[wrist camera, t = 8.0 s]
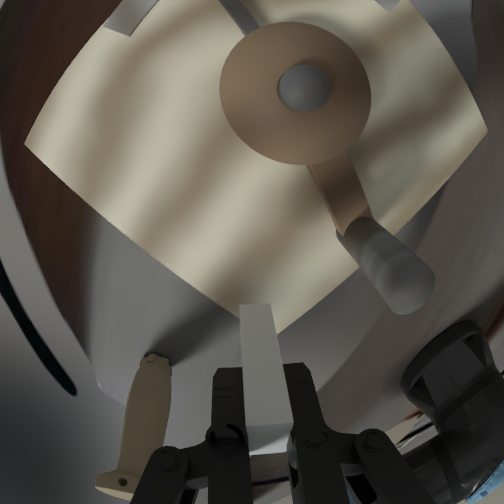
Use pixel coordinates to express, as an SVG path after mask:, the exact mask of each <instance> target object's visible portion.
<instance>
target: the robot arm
mask: <svg viewBox="0 0 504 504" xmlns="http://www.w3.org/2000/svg"><path fill="white" fill-rule="evenodd" d="M239 307H240V332H241V354H242V367H236V368H218V369H217V371H216V373H215V375H214V376H213V390H212V415H211V426H210V428H209V429H208V430H207V432H206V436H205V438H206V440H205V441H204V442H202V443H201V444H198V445H196V446H192V447H188V448H184V449H178V448H176V447H172V446H165V447H160V448H158V449H156V450H155V451H154V452H153V453H152V455H151V456H150V458H149V460H148V463H147V465H146V467H145V470H144V472H143V474H142V476H141V479H140V481H139V483H138V486H137V488H136V490H135V492H134V495H133V497H132V499H131V502H130V504H195V501H196V498H197V495H198V492H199V489H202V488H206V487H208V504H253V494H252V482H251V470H250V457H249V455H255V454H269V453H280V452H286V450H287V453H288V461H287V464H286V470H288V473H289V479H290V486H291V492H292V499H293V504H457V503H459V502H460V501H462V500H464V499H465V498H466V499H465V501H466V502H468V503H469V504H472V503H475V502H477V501H479V500H480V499H482V498H483V497H485V496H486V495H487V494H488V493H490V492H492V491H493V490H494V489H496V488H497V487H498V486H499V485H500V484H502V482H504V378H503V376H502V375H501V374H500V372H499V371H498V369H497V368H496V366H495V363H494V360H493V356H492V353H491V350H490V347H489V344H488V341H487V338H486V335H485V333H484V331H483V330H482V329H481V328H480V327H479V325H478V324H477V323H476V322H474V321H464V322H461V323H459V324H457V325H455V326H453V327H451V328H450V329H448V330H447V331H445V332H444V333H442V334H441V335H440V336H438V337H437V338H436V339H435V340H433V341H432V342H431V343H430V344H429V345H428V346H427V347H426V348H424V349H423V350H422V351H421V352H420V354H419V355H418V356H417V357H416V358H415V359H414V360H413V361H412V363H411V364H410V365H409V367H408V368H407V370H406V371H405V373H404V375H403V377H402V380H401V387H402V389H403V391H404V393H405V395H406V397H407V398H408V400H409V401H411V402H412V403H413V404H414V405H415V406H416V407H417V408H419V409H420V410H421V411H422V412H423V413H424V414H425V415H426V416H428V417H429V418H430V419H431V420H432V422H433V424H434V426H435V428H436V430H437V432H438V435H436V436H435V437H433V438H432V439H430V440H428V441H426V442H425V443H423V444H421V445H420V446H418V447H416V448H414V449H413V450H411V451H409V452H407V453H405V454H403V455H401V454H400V452H399V451H398V450H397V448H396V447H395V445H394V444H393V443H392V441H391V440H390V439H389V437H388V436H387V435H386V434H385V433H384V432H383V431H381V430H379V429H371V428H370V429H367V430H364V431H362V432H361V433H360V434H347V433H339V432H336V431H334V430H332V429H331V428H329V427H328V426H327V425H326V423H325V421H324V419H323V415H322V412H321V408H320V404H319V401H318V397H317V394H316V391H315V386H314V383H313V380H312V376H311V372H310V370H309V369H308V368H307V367H306V365H305V364H304V363H303V362H301V363H291V364H282V360H281V354H280V349H279V344H278V339H277V334H276V329H275V324H274V319H273V314H272V309H271V304H270V303H265V304H241V305H239Z"/></svg>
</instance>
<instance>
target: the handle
mask: <svg viewBox="0 0 504 504" xmlns="http://www.w3.org/2000/svg"><path fill="white" fill-rule="evenodd" d="M171 376H172V367H171V365H169V360H168V359H167V358H164V357H160V356H158V355H156V354H149V356H148V357H145V358H142V360H141V362H140V364H139V369H138V371H137V373H136V375H135V377H134V380H133V382H132V385H131V388H130V392H129V395H128V399H127V404H126V410H125V417H124V425H123V433H122V441H121V447H120V456H119V461H118V465H117V469H116V470H114V471H111V472H106V473H102V474H98V475H97V478H96V484H95V487H96V488H97V489H98V490H100V491H102V492H104V493H107V494H109V495H112V496H115V497H118V498H122V499H125V500H130V501H131V499H132V497H133V495H134V492H135V490H136V488H137V486H138V483H139V481H140V479H141V476H142V474H143V472H144V470H145V467H146V465H147V463H148V460H149V458H150V456H151V455H152V453H153V452H154V451H155V450H156V449H158V448H160V447H163V443H164V438H165V433H166V427H167V422H168V417H169V411H170V404H171Z"/></svg>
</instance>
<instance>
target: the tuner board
mask: <svg viewBox="0 0 504 504" xmlns="http://www.w3.org/2000/svg"><path fill="white" fill-rule="evenodd" d="M240 1H241V2H242V3H243V5H244V6H245V7H246V9H247V10H248V11H249V13H250V14H251V15H252V17H253V18H254V19H255V21H256V22H257V24H258V25H259V26H260V27H263V26H266V25H269V24H274V23H279V22H301V23H307V24H311V25H314V26H318V27H320V28H323V29H325V30H327V31H329V32H331V33H332V34H334V35H336V36H337V37H339V38H340V39H341V40H343V41H344V42H345V43H346V44H347V45H348V46H349V47H350V48H351V49H352V50H353V51H354V53H355V54H356V55H357V56H358V58H359V59H360V61H361V63H362V64H363V66H364V69H365V71H366V73H367V76H368V79H369V83H370V88H371V109H370V114H369V118H368V121H367V123H366V126H365V128H364V130H363V131H362V133H361V135H360V136H359V137H358V139H357V140H356V141H355V142H354V143H353V144H352V145H351V146H350V147H349V148H348V149H347V151H348V154H349V156H350V158H351V161H352V163H353V165H354V168H355V170H356V173H357V175H358V178H359V180H360V183H361V185H362V188H363V190H364V193H365V196H366V198H367V201H368V204H369V207H370V210H371V212H372V215H373V218H374V220H375V221H376V222H378V223H379V224H380V225H381V226H383V227H384V228H385V229H386V230H387V231H389V232H390V233H391V234H392V235H394V234H396V233H397V232H398V231H399V230H400V229H401V228H402V227H403V226H404V225H405V224H406V223H407V222H408V221H409V220H410V219H411V218H412V217H413V216H414V215H415V214H416V213H417V212H418V211H419V209H421V208H422V206H423V205H424V204H425V203H426V202H427V201H428V200H429V199H430V198H431V197H432V196H433V195H434V194H435V193H436V192H437V191H438V189H439V188H440V187H441V186H442V185H443V184H444V183H445V182H446V181H447V180H448V179H449V177H450V176H451V175H452V174H453V173H454V172H455V171H456V169H457V168H458V167H459V166H460V165H461V164H462V162H463V161H464V160H465V159H466V158H467V157H468V155H469V154H470V153H471V152H472V151H473V149H474V148H475V147H476V146H477V144H478V143H479V142H480V141H481V139H482V138H483V137H484V136H485V134H486V133H487V132H488V130H487V127H486V125H485V122H484V120H483V118H482V115H481V113H480V111H479V109H478V106H477V104H476V102H475V100H474V98H473V96H472V94H471V92H470V90H469V88H468V86H467V84H466V82H465V80H464V78H463V77H462V75H461V73H460V71H459V69H458V68H457V66H456V64H455V63H454V61H453V59H452V58H451V56H450V55H449V53H448V51H447V50H446V48H445V47H444V45H443V44H442V42H441V41H440V40H439V38H438V36H437V35H436V34H435V32H434V31H433V29H432V28H431V27H430V25H429V24H428V23H427V21H426V20H425V19H424V18H423V16H422V15H421V14H420V13H419V12H418V10H417V9H416V8H415V7H414V5H413V4H412V3H411V2H410V1H409V0H240ZM244 37H245V36H244V34H243V33H242V31H241V30H240V28H239V27H238V26H237V24H236V23H235V22H234V20H233V19H232V18H231V16H230V15H229V14H228V12H227V11H226V10H225V8H224V7H223V6H222V4H221V3H220V2H219V1H218V0H123V1H122V2H121V3H120V4H119V6H118V7H117V8H116V9H115V11H114V12H113V13H112V15H111V16H110V17H109V18H108V19H107V20H106V21H105V23H104V24H103V25H102V26H101V27H100V28H99V29H98V30H97V31H96V33H95V34H94V35H93V36H92V37H91V39H90V40H89V41H88V42H87V43H86V45H85V46H84V47H83V48H82V50H81V51H80V52H79V54H78V55H77V56H76V57H75V59H74V60H73V62H72V63H71V64H70V66H69V67H68V68H67V70H66V71H65V73H64V74H63V76H62V77H61V79H60V80H59V82H58V83H57V85H56V86H55V88H54V90H53V91H52V93H51V94H50V96H49V98H48V99H47V101H46V103H45V105H44V106H43V108H42V110H41V112H40V114H39V115H38V117H37V119H36V121H35V123H34V125H33V127H32V129H31V131H30V133H29V135H28V137H27V139H26V141H25V143H24V144H25V145H26V146H27V147H28V148H29V149H30V150H31V151H32V152H33V153H34V154H35V155H36V156H37V157H38V158H39V159H40V160H41V161H42V162H43V163H44V164H45V165H46V166H47V167H48V168H49V169H51V170H52V171H53V172H54V173H55V174H56V175H57V176H58V177H59V178H60V179H61V180H62V181H63V182H65V183H66V184H67V185H68V186H69V187H70V188H71V189H72V190H73V191H75V192H76V193H77V194H78V195H79V196H80V197H81V198H82V199H84V200H85V201H86V202H87V203H88V204H89V205H90V206H92V207H93V208H94V209H95V210H96V211H97V212H99V213H100V214H101V215H102V216H103V217H105V218H106V219H107V220H108V221H109V222H111V223H112V224H113V225H114V226H115V227H117V228H118V229H119V230H120V231H121V232H123V233H124V234H125V235H126V236H128V237H129V238H130V239H131V240H133V241H134V242H135V243H136V244H138V245H139V246H140V247H141V248H143V249H144V250H145V251H146V252H148V253H149V254H150V255H152V256H153V257H154V258H156V259H157V260H158V261H159V262H161V263H162V264H163V265H165V266H166V267H167V268H169V269H170V270H171V271H173V272H174V273H175V274H177V275H178V276H179V277H181V278H182V279H183V280H185V281H186V282H187V283H189V284H190V285H192V286H193V287H194V288H196V289H197V290H199V291H200V292H201V293H203V294H204V295H206V296H207V297H208V298H210V299H211V300H213V301H214V302H215V303H217V304H218V305H220V306H221V307H223V308H224V309H226V310H227V311H228V312H230V313H231V314H233V315H234V316H236V317H237V318H239V319H240V307H239V305H241V304H265V303H270V304H271V309H272V314H273V319H274V324H275V329H276V334H278V333H280V332H281V331H282V330H284V329H285V328H286V327H287V326H289V325H290V324H291V323H293V322H294V321H295V320H297V319H298V318H299V317H300V316H302V315H303V314H304V313H305V312H307V311H308V310H309V309H310V308H312V307H313V306H314V305H315V304H317V303H318V302H319V301H320V300H322V299H323V298H324V297H325V296H326V295H327V294H329V293H330V292H331V291H332V290H334V289H335V288H336V287H337V286H338V285H339V284H341V283H342V282H343V281H344V280H345V279H346V278H347V277H349V276H350V275H351V274H352V273H353V272H354V271H355V270H357V269H358V268H359V265H358V264H357V263H356V262H355V260H354V259H353V258H352V257H351V255H350V254H349V253H348V252H347V250H346V249H345V248H344V247H343V245H342V244H341V243H340V242H339V240H338V239H337V236H336V227H335V225H334V223H333V220H332V218H331V216H330V214H329V211H328V209H327V207H326V205H325V203H324V201H323V198H322V196H321V194H320V192H319V190H318V188H317V186H316V184H315V182H314V180H313V178H312V176H311V174H310V172H309V170H308V168H307V166H306V165H292V164H286V163H281V162H277V161H274V160H272V159H269V158H267V157H265V156H263V155H261V154H259V153H257V152H256V151H254V150H253V149H251V148H250V147H249V146H248V145H247V144H245V143H244V142H243V141H242V140H241V139H240V138H239V137H238V135H237V134H236V133H235V132H234V130H233V129H232V127H231V126H230V124H229V122H228V120H227V119H226V117H225V114H224V111H223V109H222V105H221V100H220V91H219V85H220V76H221V72H222V68H223V65H224V63H225V60H226V58H227V57H228V55H229V53H230V52H231V50H232V49H233V48H234V47H235V45H236V44H237V43H238V42H239V41H240V40H241V39H242V38H244Z"/></svg>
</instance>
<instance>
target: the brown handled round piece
mask: <svg viewBox="0 0 504 504" xmlns="http://www.w3.org/2000/svg"><path fill="white" fill-rule="evenodd" d="M218 1H219V2H220V3H221V4H222V6H223V7H224V8H225V10H226V11H227V12H228V14H229V15H230V16H231V18H232V19H233V20H234V22H235V23H236V24H237V26H238V27H239V28H240V30H241V31H242V33H243V34H244V36H245V37H244V38H242V39H241V40H240V41H239V42H238V43H237V44H236V45H235V47H234V48H233V49H232V50H231V52H230V53H229V55H228V57H227V58H226V60H225V63H224V65H223V68H222V72H221V76H220V85H219V91H220V100H221V105H222V109H223V111H224V114H225V117H226V119H227V120H228V122H229V124H230V126H231V127H232V129H233V130H234V132H235V133H236V134H237V135H238V137H239V138H240V139H241V140H242V141H243V142H244V143H245V144H247V145H248V146H249V147H250V148H251V149H253V150H254V151H256V152H257V153H259V154H261V155H263V156H265V157H267V158H269V159H272V160H274V161H277V162H281V163H286V164H292V165H306V166H307V168H308V170H309V172H310V174H311V176H312V178H313V180H314V182H315V184H316V186H317V188H318V190H319V192H320V194H321V196H322V198H323V201H324V203H325V205H326V207H327V209H328V211H329V214H330V216H331V218H332V220H333V223H334V225H335V227H336V236H337V239H338V240H339V242H340V243H341V244H342V245H343V247H344V248H345V249H346V250H347V252H348V253H349V254H350V255H351V257H352V258H353V259H354V260H355V262H356V263H357V264H358V265H359V267H360V268H361V269H362V271H363V272H364V273H365V274H366V276H367V277H368V278H369V280H370V281H371V282H372V284H373V285H374V286H375V288H376V289H377V290H378V292H379V293H380V294H381V296H382V297H383V298H384V300H385V301H386V303H387V304H388V305H389V307H390V308H391V310H392V311H393V312H394V313H396V314H399V315H405V314H409V313H411V312H414V311H415V310H417V309H418V308H420V307H421V306H422V305H423V304H424V303H425V302H426V301H427V299H428V298H429V297H430V295H431V293H432V291H433V288H434V285H435V275H434V272H433V271H432V270H431V269H430V268H429V267H428V266H427V265H426V264H425V263H424V262H423V261H422V260H421V259H420V258H419V257H417V256H416V255H415V254H414V253H413V252H412V251H410V249H408V248H407V247H406V246H405V245H404V244H403V243H402V242H400V241H399V240H398V239H397V238H396V237H395V236H393V235H392V234H391V233H390V232H389V231H387V230H386V229H385V228H384V227H383V226H381V225H380V224H379V223H378V222H376V221H375V220H374V218H373V215H372V212H371V210H370V207H369V204H368V201H367V198H366V196H365V193H364V190H363V188H362V185H361V183H360V180H359V178H358V175H357V173H356V170H355V168H354V165H353V163H352V161H351V158H350V156H349V154H348V151H347V149H348V148H349V147H350V146H351V145H352V144H353V143H354V142H355V141H356V140H357V139H358V137H359V136H360V135H361V133H362V131H363V130H364V128H365V126H366V123H367V121H368V118H369V114H370V109H371V88H370V83H369V79H368V76H367V73H366V71H365V69H364V66H363V64H362V63H361V61H360V59H359V58H358V56H357V55H356V54H355V53H354V51H353V50H352V49H351V48H350V47H349V46H348V45H347V44H346V43H345V42H344V41H343V40H341V39H340V38H339V37H337V36H336V35H334V34H332V33H331V32H329V31H327V30H325V29H323V28H320V27H318V26H314V25H311V24H307V23H301V22H279V23H274V24H269V25H266V26H263V27H260V26H259V25H258V24H257V22H256V21H255V19H254V18H253V17H252V15H251V14H250V13H249V11H248V10H247V9H246V7H245V6H244V5H243V3H242V2H241V1H240V0H218Z"/></svg>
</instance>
